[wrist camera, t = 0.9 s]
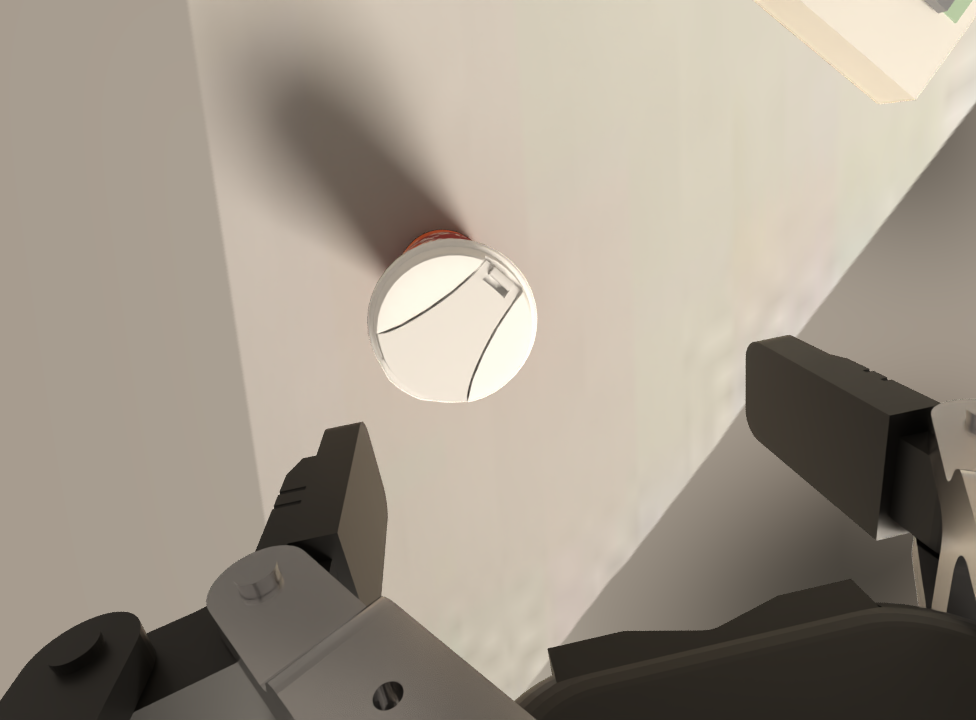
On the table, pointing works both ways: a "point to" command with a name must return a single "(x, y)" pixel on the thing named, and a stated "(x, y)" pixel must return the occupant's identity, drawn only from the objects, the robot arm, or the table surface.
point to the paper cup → (451, 319)
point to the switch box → (877, 39)
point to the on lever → (940, 5)
